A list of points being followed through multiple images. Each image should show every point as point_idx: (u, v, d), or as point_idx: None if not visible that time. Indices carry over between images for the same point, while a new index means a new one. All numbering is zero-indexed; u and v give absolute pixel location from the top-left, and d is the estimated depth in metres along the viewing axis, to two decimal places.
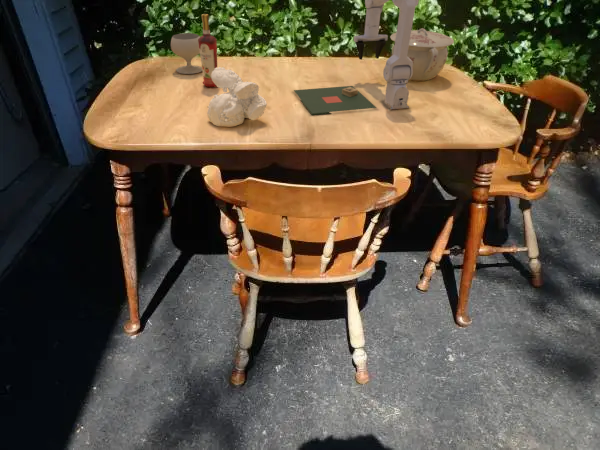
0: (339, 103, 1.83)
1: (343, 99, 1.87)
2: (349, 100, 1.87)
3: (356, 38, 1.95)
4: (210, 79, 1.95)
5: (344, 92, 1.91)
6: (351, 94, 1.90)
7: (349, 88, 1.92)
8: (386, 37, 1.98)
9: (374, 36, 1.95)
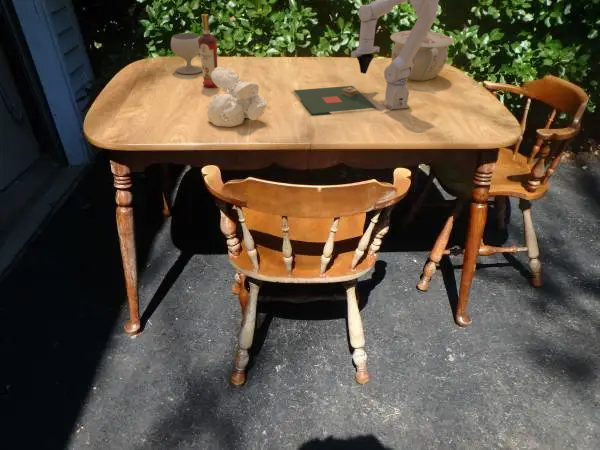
0: (339, 103, 1.83)
1: (343, 99, 1.87)
2: (349, 100, 1.87)
3: (355, 54, 1.83)
4: (210, 79, 1.95)
5: (344, 92, 1.91)
6: (351, 94, 1.90)
7: (349, 88, 1.92)
8: (378, 49, 1.90)
9: (371, 49, 1.85)
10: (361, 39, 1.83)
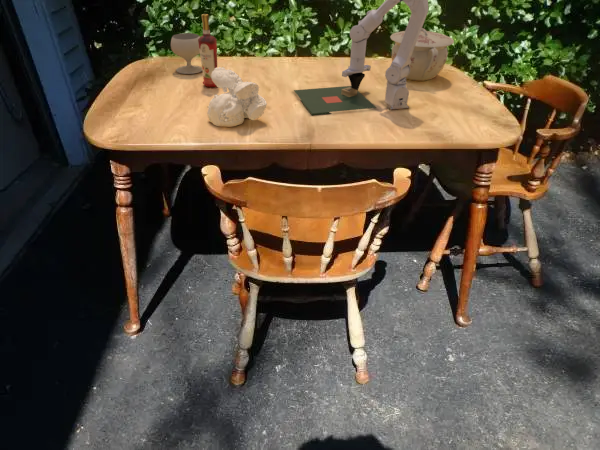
0: (339, 103, 1.83)
1: (343, 99, 1.87)
2: (349, 100, 1.87)
3: (346, 73, 1.84)
4: (210, 79, 1.95)
5: (343, 92, 1.91)
6: (350, 94, 1.89)
7: (348, 88, 1.92)
8: (369, 67, 1.91)
9: (362, 69, 1.86)
10: (352, 58, 1.84)
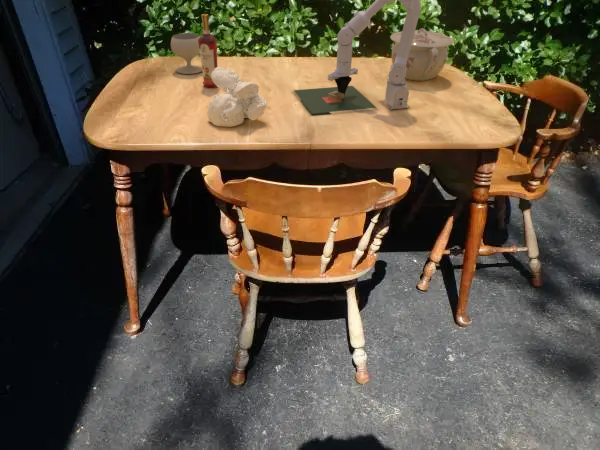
0: (339, 103, 1.83)
1: (343, 99, 1.87)
2: (349, 100, 1.87)
3: (332, 77, 1.80)
4: (210, 79, 1.95)
5: (330, 96, 1.86)
6: (337, 98, 1.85)
7: (335, 92, 1.88)
8: (356, 71, 1.87)
9: (349, 72, 1.82)
10: (338, 62, 1.80)
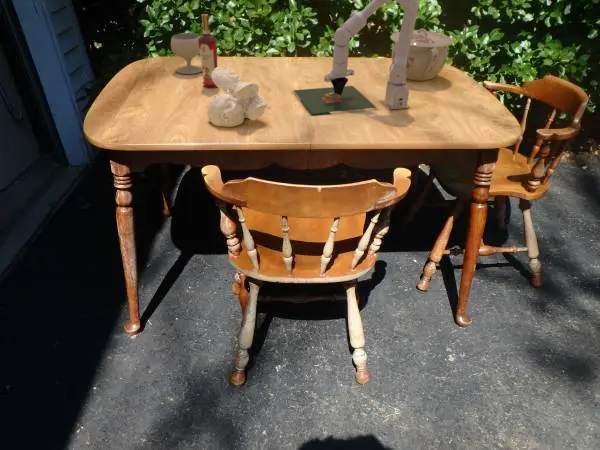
0: (339, 103, 1.83)
1: (343, 99, 1.87)
2: (349, 100, 1.87)
3: (328, 78, 1.79)
4: (210, 79, 1.95)
5: (326, 98, 1.85)
6: (334, 100, 1.84)
7: (331, 93, 1.86)
8: (353, 72, 1.86)
9: (345, 73, 1.81)
10: (334, 63, 1.79)
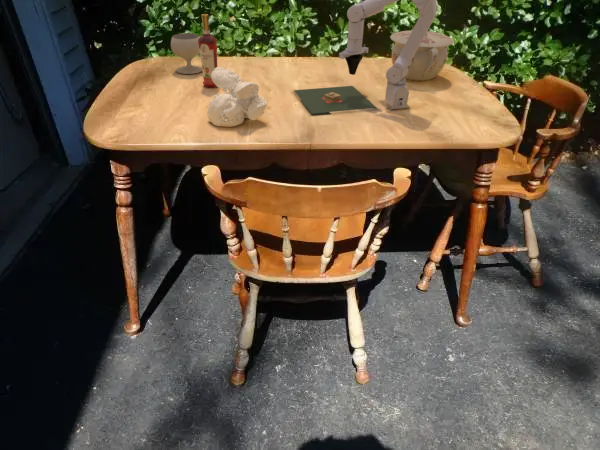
0: (339, 103, 1.83)
1: (343, 99, 1.87)
2: (349, 100, 1.87)
3: (343, 55, 1.79)
4: (210, 79, 1.95)
5: (326, 98, 1.85)
6: (334, 100, 1.84)
7: (331, 93, 1.86)
8: (367, 49, 1.86)
9: (360, 50, 1.81)
10: (349, 40, 1.79)
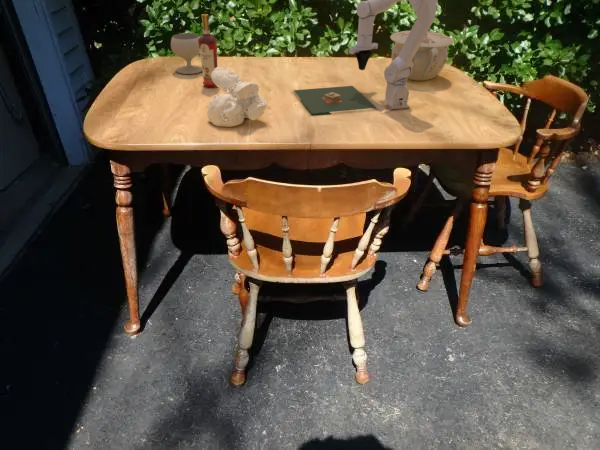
0: (339, 103, 1.83)
1: (343, 99, 1.87)
2: (349, 100, 1.87)
3: (353, 50, 1.82)
4: (210, 79, 1.95)
5: (326, 98, 1.85)
6: (334, 100, 1.84)
7: (331, 93, 1.86)
8: (376, 45, 1.90)
9: (369, 46, 1.85)
10: (359, 35, 1.83)
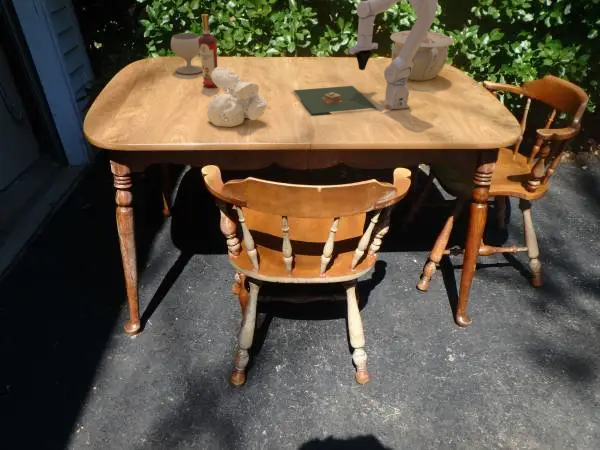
0: (339, 103, 1.83)
1: (343, 99, 1.87)
2: (349, 100, 1.87)
3: (353, 50, 1.82)
4: (210, 79, 1.95)
5: (326, 98, 1.85)
6: (334, 100, 1.84)
7: (331, 93, 1.86)
8: (376, 45, 1.90)
9: (369, 46, 1.85)
10: (359, 35, 1.83)
